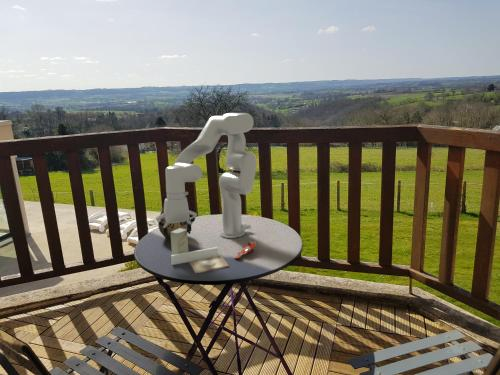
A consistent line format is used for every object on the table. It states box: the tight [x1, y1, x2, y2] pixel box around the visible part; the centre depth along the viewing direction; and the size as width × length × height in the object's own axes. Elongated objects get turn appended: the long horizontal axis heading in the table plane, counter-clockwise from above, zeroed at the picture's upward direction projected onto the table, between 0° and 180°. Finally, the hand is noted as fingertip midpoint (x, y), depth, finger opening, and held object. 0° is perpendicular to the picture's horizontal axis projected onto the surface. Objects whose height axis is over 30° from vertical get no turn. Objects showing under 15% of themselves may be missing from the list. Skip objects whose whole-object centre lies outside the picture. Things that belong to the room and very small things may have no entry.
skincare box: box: [170, 228, 189, 255], centre depth 157 cm, size 6×4×12 cm
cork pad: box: [188, 255, 230, 274], centre depth 150 cm, size 14×10×1 cm
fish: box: [234, 240, 257, 260], centre depth 160 cm, size 13×5×9 cm
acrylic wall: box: [170, 246, 219, 266], centre depth 155 cm, size 20×1×4 cm, turn 113°
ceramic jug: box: [157, 184, 191, 243], centre depth 177 cm, size 17×15×30 cm
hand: (177, 234), depth 156 cm, fingers open, 9 cm apart
